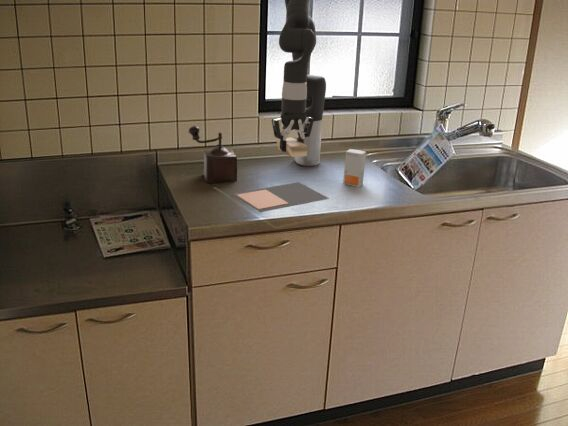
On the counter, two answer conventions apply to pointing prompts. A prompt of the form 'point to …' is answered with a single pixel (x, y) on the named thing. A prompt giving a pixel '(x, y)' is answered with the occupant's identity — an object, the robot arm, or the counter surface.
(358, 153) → the skincare box
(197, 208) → the counter surface
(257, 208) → the rubber mat
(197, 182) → the counter surface
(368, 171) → the counter surface
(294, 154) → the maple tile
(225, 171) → the manual coffee grinder
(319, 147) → the robot arm
